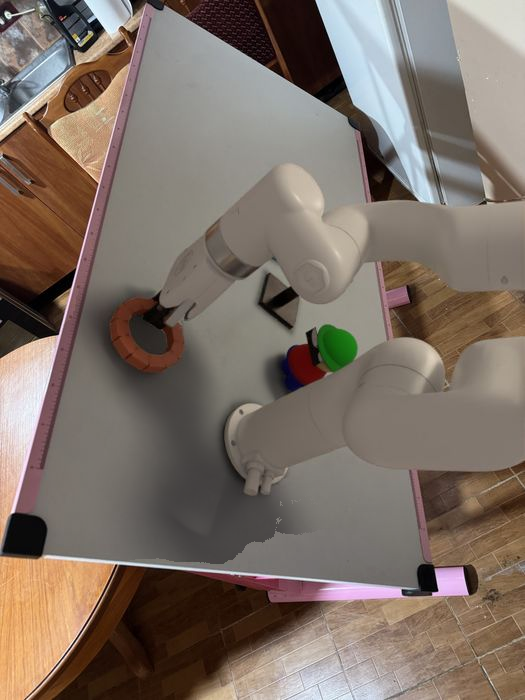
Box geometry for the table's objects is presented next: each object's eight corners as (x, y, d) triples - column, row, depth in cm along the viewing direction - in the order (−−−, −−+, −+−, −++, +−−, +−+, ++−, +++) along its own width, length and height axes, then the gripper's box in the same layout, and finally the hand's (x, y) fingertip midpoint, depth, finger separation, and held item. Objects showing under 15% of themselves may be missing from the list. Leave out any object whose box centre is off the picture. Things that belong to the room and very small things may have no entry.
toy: (303, 407, 96) (372, 376, 86) (266, 388, 91) (335, 353, 82) (304, 364, 101) (369, 330, 92) (269, 343, 97) (334, 305, 87)
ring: (164, 386, 75) (172, 381, 74) (98, 344, 71) (105, 338, 70) (185, 330, 82) (192, 325, 81) (125, 289, 78) (132, 283, 76)
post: (290, 329, 102) (348, 295, 94) (258, 304, 99) (316, 265, 90) (296, 299, 108) (352, 264, 99) (266, 274, 104) (321, 235, 95)
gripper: (225, 190, 71) (149, 264, 83) (193, 271, 61) (112, 342, 72) (268, 227, 74) (189, 293, 86) (245, 310, 64) (159, 372, 75)
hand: (154, 315), depth 79 cm, fingers closed on ring, 2 cm apart
